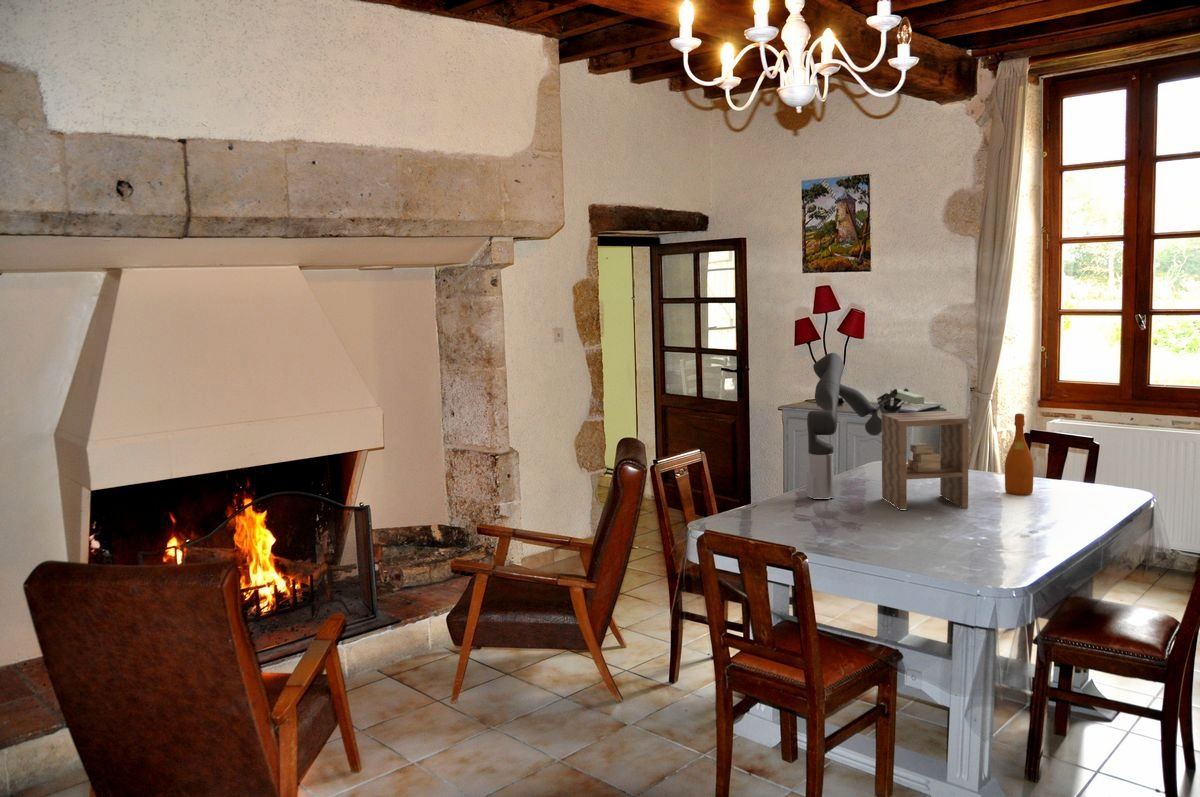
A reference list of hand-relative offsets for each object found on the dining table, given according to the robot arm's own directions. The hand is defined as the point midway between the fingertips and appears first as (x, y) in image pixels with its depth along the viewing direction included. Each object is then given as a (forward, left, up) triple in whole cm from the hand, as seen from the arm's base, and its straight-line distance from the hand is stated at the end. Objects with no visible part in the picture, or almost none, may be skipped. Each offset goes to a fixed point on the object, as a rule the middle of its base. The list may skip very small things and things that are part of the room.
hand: (901, 390), depth 363 cm
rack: (-4, -22, -39) cm, 45 cm away
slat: (-1, -5, -3) cm, 6 cm away
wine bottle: (+36, -20, -39) cm, 57 cm away
